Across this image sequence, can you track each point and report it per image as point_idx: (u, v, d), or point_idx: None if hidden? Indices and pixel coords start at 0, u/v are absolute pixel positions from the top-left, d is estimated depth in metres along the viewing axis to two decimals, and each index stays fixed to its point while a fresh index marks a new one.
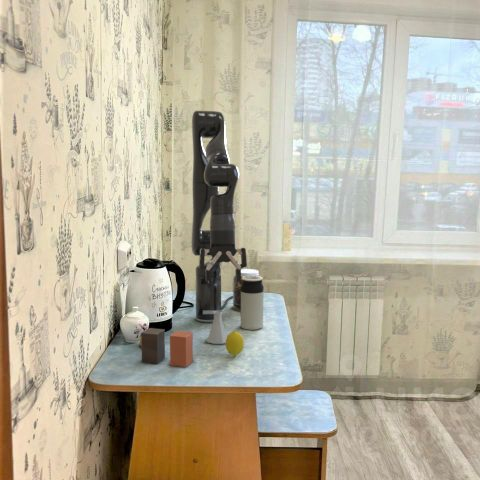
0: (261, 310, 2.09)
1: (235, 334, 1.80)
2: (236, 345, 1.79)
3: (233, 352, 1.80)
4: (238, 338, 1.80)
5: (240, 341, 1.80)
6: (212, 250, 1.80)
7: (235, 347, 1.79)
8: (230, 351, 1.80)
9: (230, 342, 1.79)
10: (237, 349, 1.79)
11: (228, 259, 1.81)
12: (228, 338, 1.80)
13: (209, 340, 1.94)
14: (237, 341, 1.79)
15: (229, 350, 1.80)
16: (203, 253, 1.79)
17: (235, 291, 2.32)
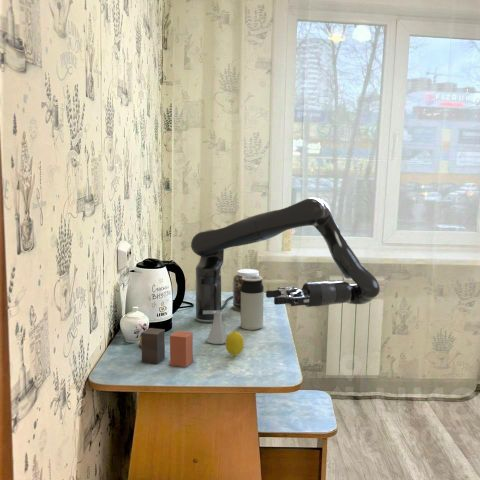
0: (261, 310, 2.09)
1: (235, 334, 1.80)
2: (236, 345, 1.79)
3: (233, 352, 1.80)
4: (238, 338, 1.80)
5: (240, 341, 1.80)
6: None
7: (235, 347, 1.79)
8: (230, 351, 1.80)
9: (230, 342, 1.79)
10: (237, 349, 1.79)
11: None
12: (228, 338, 1.80)
13: (209, 340, 1.94)
14: (237, 341, 1.79)
15: (229, 350, 1.80)
16: None
17: (235, 291, 2.32)
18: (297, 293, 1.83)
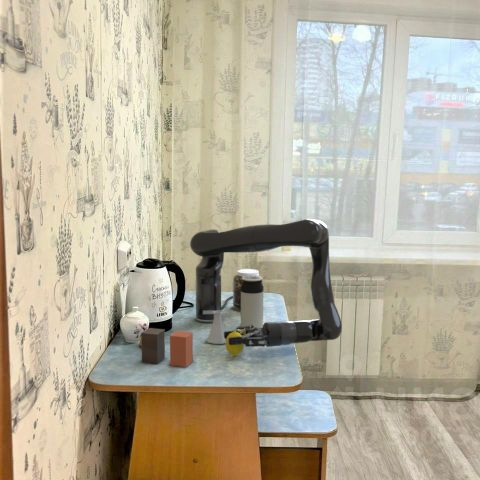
0: (261, 310, 2.09)
1: (235, 334, 1.80)
2: (236, 345, 1.79)
3: (233, 352, 1.80)
4: None
5: None
6: None
7: (235, 347, 1.79)
8: (230, 351, 1.80)
9: None
10: (237, 349, 1.79)
11: None
12: (228, 338, 1.80)
13: (209, 340, 1.94)
14: None
15: (229, 350, 1.80)
16: None
17: (235, 291, 2.32)
18: (254, 333, 1.81)
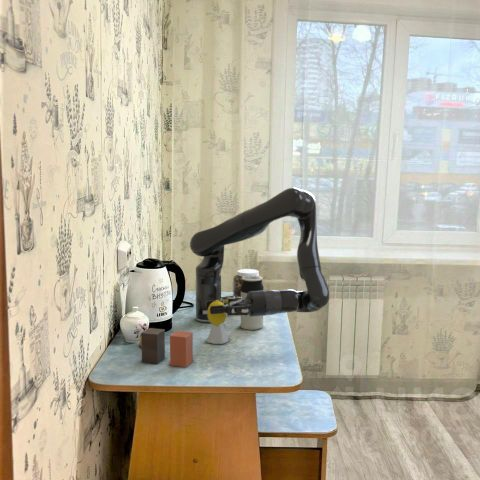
0: None
1: (217, 303, 1.72)
2: (218, 314, 1.71)
3: (215, 322, 1.71)
4: None
5: None
6: None
7: (217, 316, 1.71)
8: (212, 321, 1.71)
9: None
10: (219, 319, 1.71)
11: None
12: None
13: (209, 340, 1.94)
14: None
15: (211, 320, 1.71)
16: None
17: (235, 291, 2.32)
18: (237, 302, 1.72)
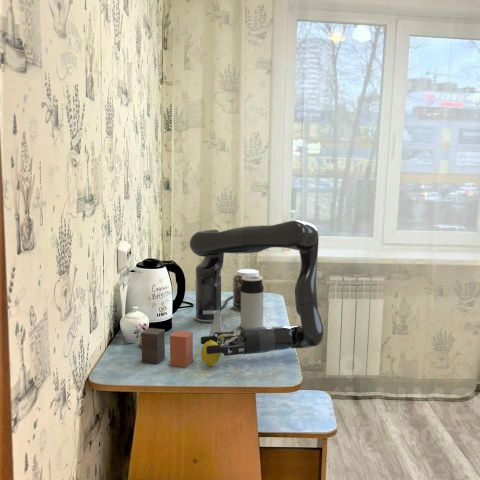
0: (261, 310, 2.09)
1: (211, 343, 1.71)
2: (211, 355, 1.70)
3: (209, 362, 1.71)
4: None
5: None
6: None
7: (211, 357, 1.70)
8: (206, 361, 1.71)
9: None
10: (213, 359, 1.71)
11: None
12: (203, 347, 1.71)
13: None
14: None
15: (204, 360, 1.71)
16: None
17: (235, 291, 2.32)
18: (232, 341, 1.72)
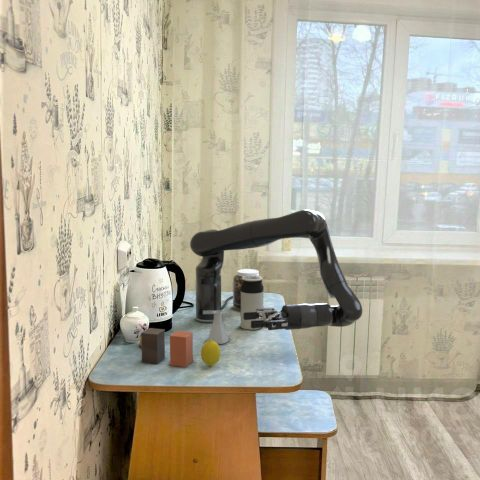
0: None
1: (211, 343, 1.71)
2: (211, 355, 1.70)
3: (209, 362, 1.71)
4: (214, 347, 1.71)
5: (216, 351, 1.71)
6: None
7: (211, 357, 1.70)
8: (206, 361, 1.71)
9: (206, 351, 1.70)
10: (213, 359, 1.71)
11: None
12: (203, 347, 1.71)
13: (209, 340, 1.94)
14: (213, 350, 1.71)
15: (204, 360, 1.71)
16: None
17: (235, 291, 2.32)
18: (275, 316, 1.75)
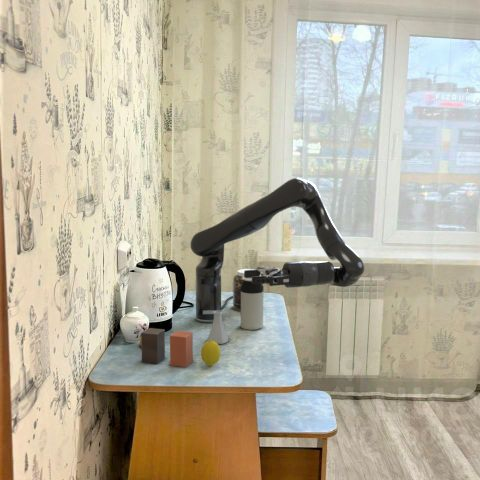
0: (261, 310, 2.09)
1: (211, 343, 1.71)
2: (211, 355, 1.70)
3: (209, 362, 1.71)
4: (214, 347, 1.71)
5: (216, 351, 1.71)
6: None
7: (211, 357, 1.70)
8: (206, 361, 1.71)
9: (206, 351, 1.70)
10: (213, 359, 1.71)
11: None
12: (203, 347, 1.71)
13: (209, 340, 1.94)
14: (213, 350, 1.71)
15: (204, 360, 1.71)
16: None
17: (235, 291, 2.32)
18: (276, 273, 1.73)
